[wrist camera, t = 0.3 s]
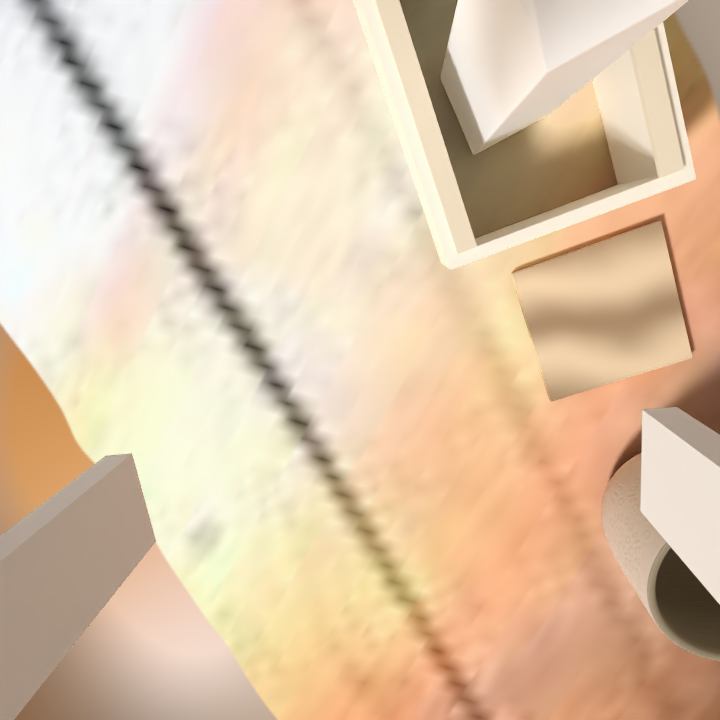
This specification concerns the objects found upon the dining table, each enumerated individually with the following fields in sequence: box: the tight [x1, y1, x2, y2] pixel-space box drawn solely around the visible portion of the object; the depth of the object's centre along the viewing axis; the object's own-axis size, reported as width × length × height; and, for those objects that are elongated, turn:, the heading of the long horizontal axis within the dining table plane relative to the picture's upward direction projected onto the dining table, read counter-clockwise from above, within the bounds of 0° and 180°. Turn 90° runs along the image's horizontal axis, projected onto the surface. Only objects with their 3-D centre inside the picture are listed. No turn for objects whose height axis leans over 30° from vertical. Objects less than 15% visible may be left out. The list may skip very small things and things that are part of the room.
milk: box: [440, 0, 689, 155], centre depth 24 cm, size 6×6×22 cm
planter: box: [601, 453, 720, 661], centre depth 36 cm, size 12×12×11 cm
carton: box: [353, 0, 696, 270], centre depth 30 cm, size 20×15×8 cm
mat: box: [511, 221, 692, 401], centre depth 37 cm, size 11×11×1 cm
